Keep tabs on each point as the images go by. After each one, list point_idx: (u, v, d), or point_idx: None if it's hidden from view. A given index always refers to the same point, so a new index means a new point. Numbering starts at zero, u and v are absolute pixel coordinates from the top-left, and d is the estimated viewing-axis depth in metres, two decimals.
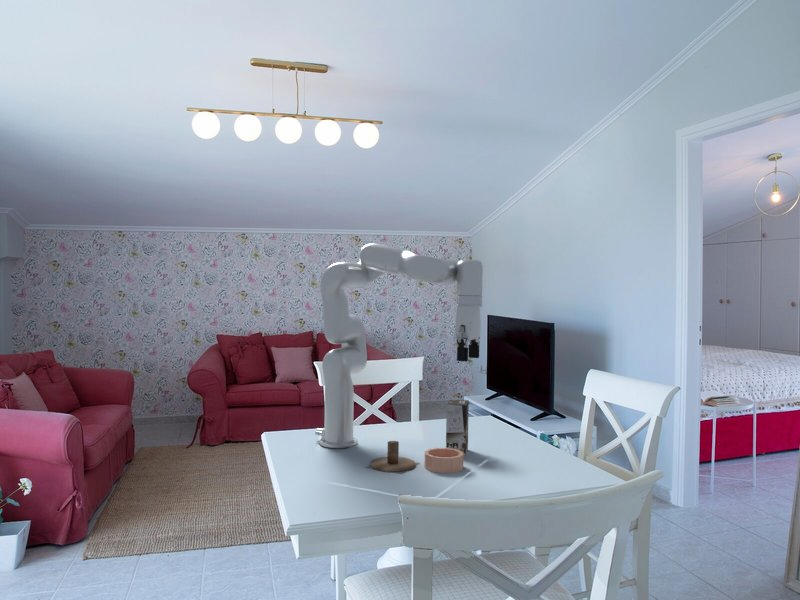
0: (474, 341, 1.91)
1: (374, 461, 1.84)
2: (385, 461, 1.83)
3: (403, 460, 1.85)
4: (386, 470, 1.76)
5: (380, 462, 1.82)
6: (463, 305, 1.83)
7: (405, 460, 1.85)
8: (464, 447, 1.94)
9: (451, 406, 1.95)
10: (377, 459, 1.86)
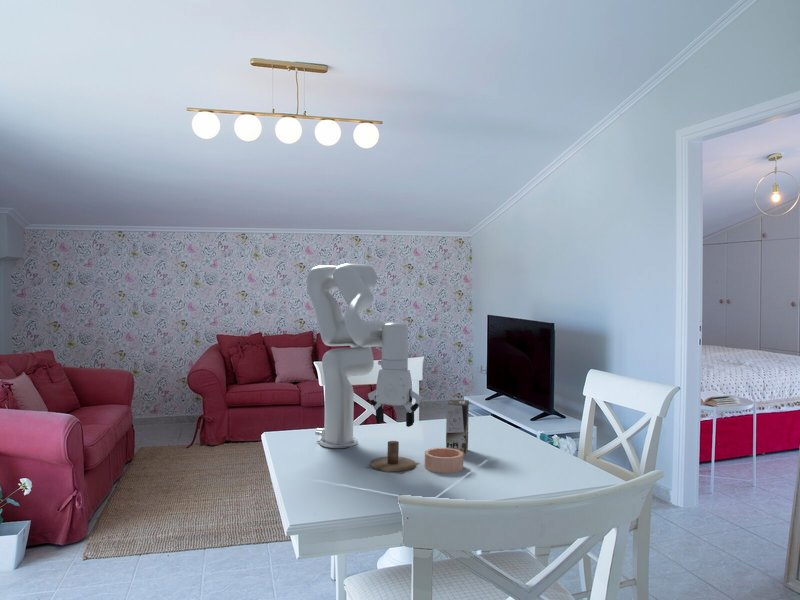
0: (379, 405, 1.84)
1: (374, 461, 1.84)
2: (385, 461, 1.83)
3: (403, 460, 1.85)
4: (386, 470, 1.76)
5: (380, 462, 1.82)
6: (405, 369, 1.80)
7: (405, 460, 1.85)
8: (464, 447, 1.94)
9: (451, 406, 1.95)
10: (377, 459, 1.86)
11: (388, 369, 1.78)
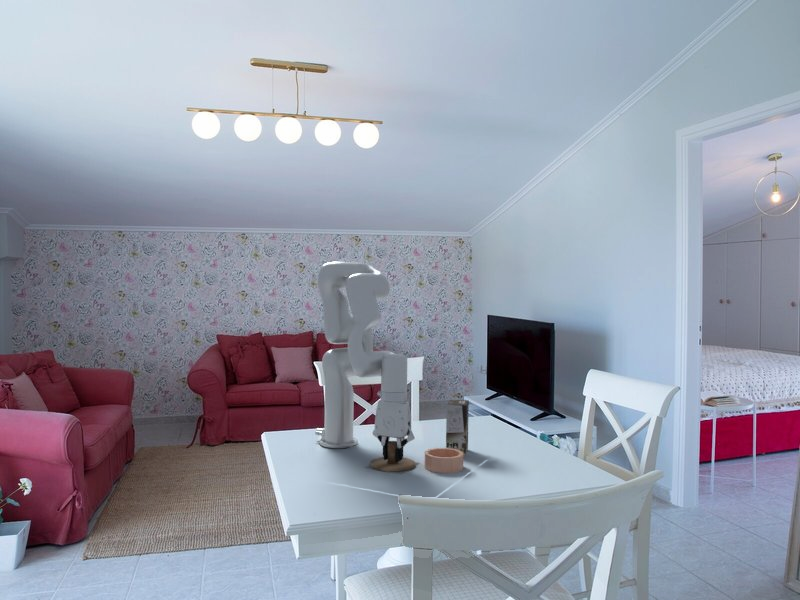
0: (385, 441, 1.83)
1: (374, 461, 1.84)
2: (385, 461, 1.83)
3: (403, 460, 1.85)
4: (386, 470, 1.76)
5: (380, 462, 1.82)
6: (404, 401, 1.80)
7: (405, 460, 1.85)
8: (464, 447, 1.94)
9: (451, 406, 1.95)
10: (377, 459, 1.86)
11: (387, 401, 1.79)
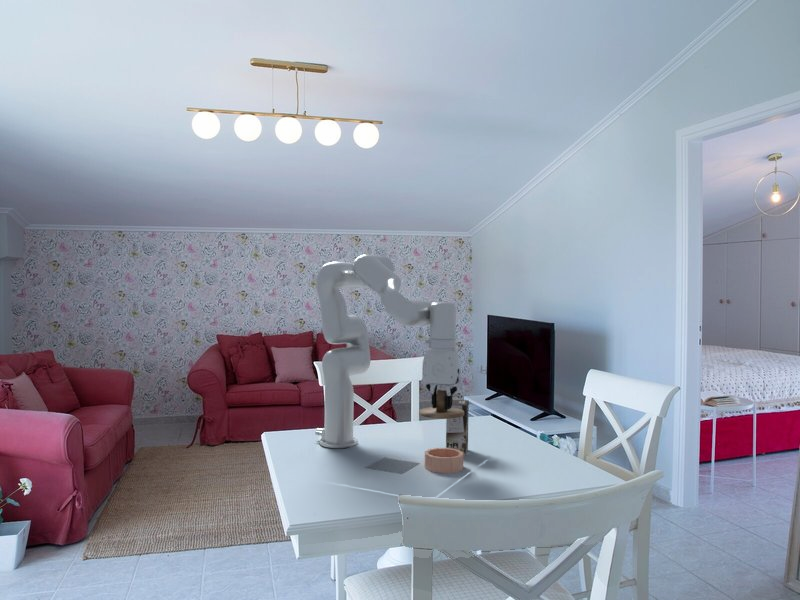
0: None
1: (423, 410, 1.83)
2: (434, 410, 1.82)
3: (452, 409, 1.83)
4: (436, 417, 1.75)
5: (429, 411, 1.81)
6: (453, 349, 1.79)
7: (453, 409, 1.83)
8: (464, 447, 1.94)
9: (451, 406, 1.95)
10: (425, 408, 1.85)
11: (436, 348, 1.78)
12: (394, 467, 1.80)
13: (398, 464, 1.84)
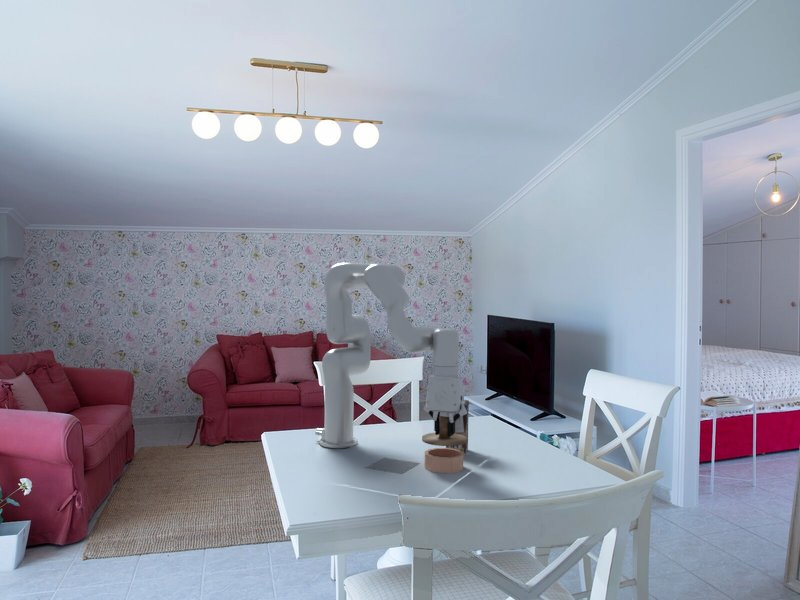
0: None
1: (426, 436, 1.83)
2: (436, 436, 1.82)
3: (454, 435, 1.83)
4: (440, 444, 1.75)
5: (432, 437, 1.81)
6: (456, 376, 1.79)
7: (456, 435, 1.84)
8: (464, 447, 1.94)
9: None
10: (428, 434, 1.85)
11: (440, 375, 1.78)
12: (394, 467, 1.80)
13: (398, 464, 1.84)
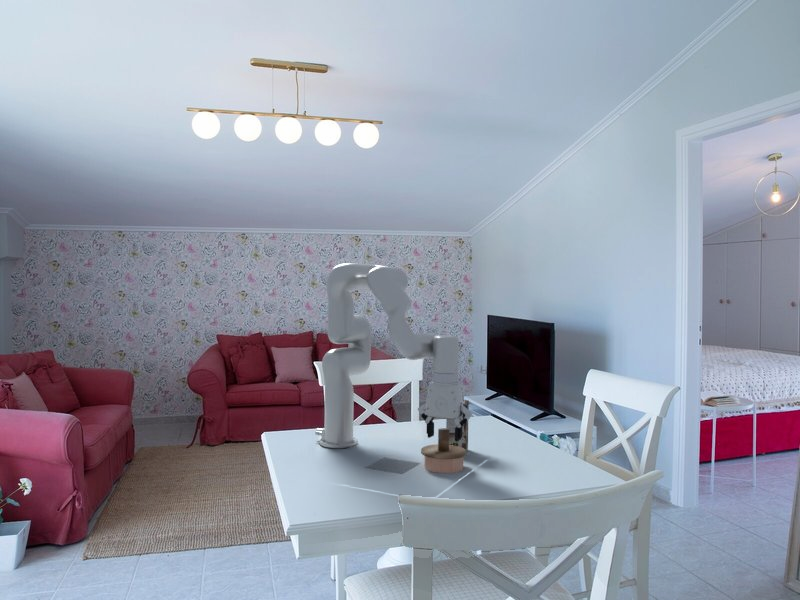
0: None
1: (425, 448, 1.83)
2: (435, 449, 1.82)
3: (453, 448, 1.84)
4: (438, 457, 1.75)
5: (431, 449, 1.82)
6: (456, 383, 1.79)
7: (455, 448, 1.84)
8: (464, 447, 1.94)
9: None
10: (427, 446, 1.85)
11: (439, 382, 1.78)
12: (394, 467, 1.80)
13: (398, 464, 1.84)
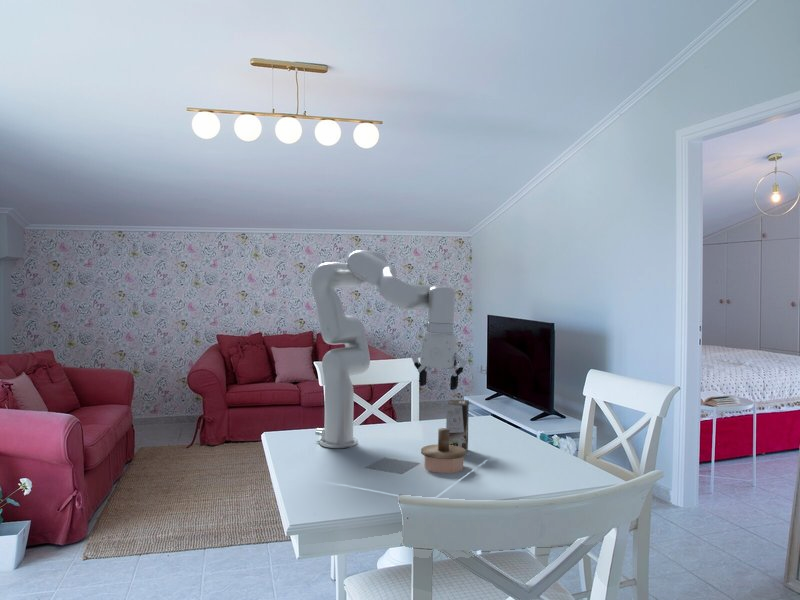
0: None
1: (425, 448, 1.83)
2: (435, 449, 1.82)
3: (453, 448, 1.84)
4: (438, 457, 1.75)
5: (431, 449, 1.82)
6: (451, 333, 1.80)
7: (455, 448, 1.84)
8: (464, 447, 1.94)
9: (451, 406, 1.95)
10: (427, 446, 1.85)
11: (434, 332, 1.79)
12: (394, 467, 1.80)
13: (398, 464, 1.84)
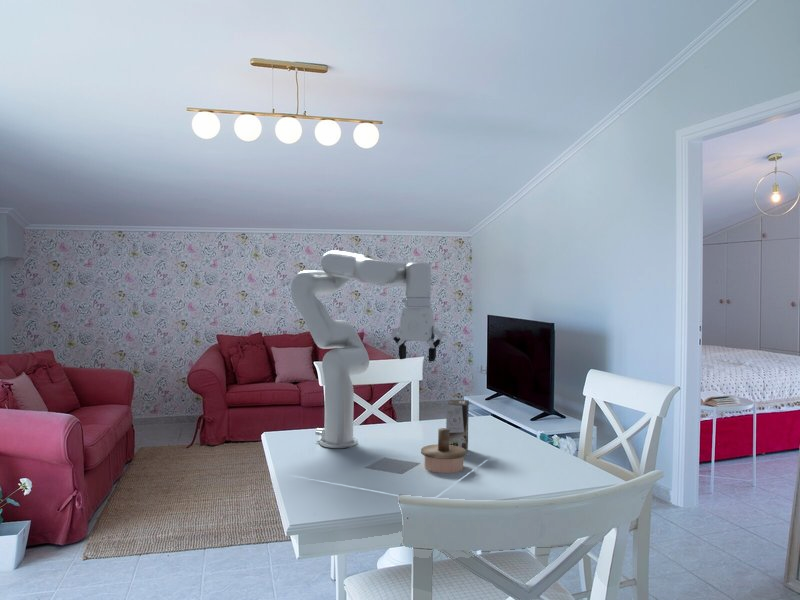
0: None
1: (425, 448, 1.83)
2: (435, 449, 1.82)
3: (453, 448, 1.84)
4: (438, 457, 1.75)
5: (431, 449, 1.82)
6: (428, 307, 1.87)
7: (455, 448, 1.84)
8: (464, 447, 1.94)
9: (451, 406, 1.95)
10: (427, 446, 1.85)
11: (412, 306, 1.86)
12: (394, 467, 1.80)
13: (398, 464, 1.84)
